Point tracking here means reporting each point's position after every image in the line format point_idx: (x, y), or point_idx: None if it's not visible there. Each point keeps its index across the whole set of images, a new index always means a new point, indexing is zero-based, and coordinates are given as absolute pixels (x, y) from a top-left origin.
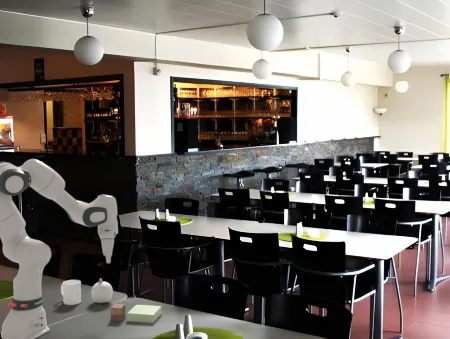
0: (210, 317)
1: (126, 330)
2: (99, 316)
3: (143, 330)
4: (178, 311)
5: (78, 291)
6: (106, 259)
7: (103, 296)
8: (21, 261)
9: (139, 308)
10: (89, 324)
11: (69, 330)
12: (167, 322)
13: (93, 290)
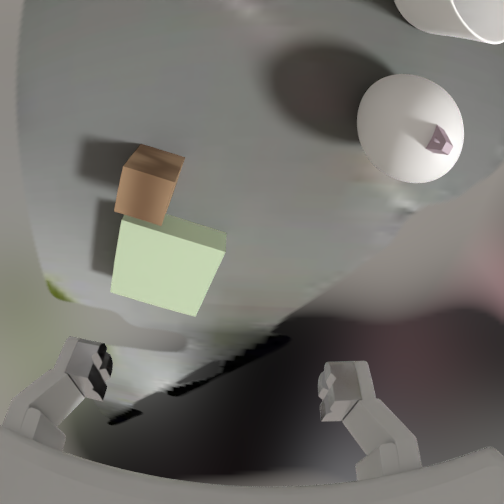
0: (164, 369)
1: (52, 203)
2: (196, 93)
3: (59, 247)
4: (214, 331)
5: (432, 17)
6: (50, 370)
7: (358, 126)
8: None
9: (175, 259)
10: (102, 66)
11: (52, 11)
12: (124, 303)
13: (400, 86)
